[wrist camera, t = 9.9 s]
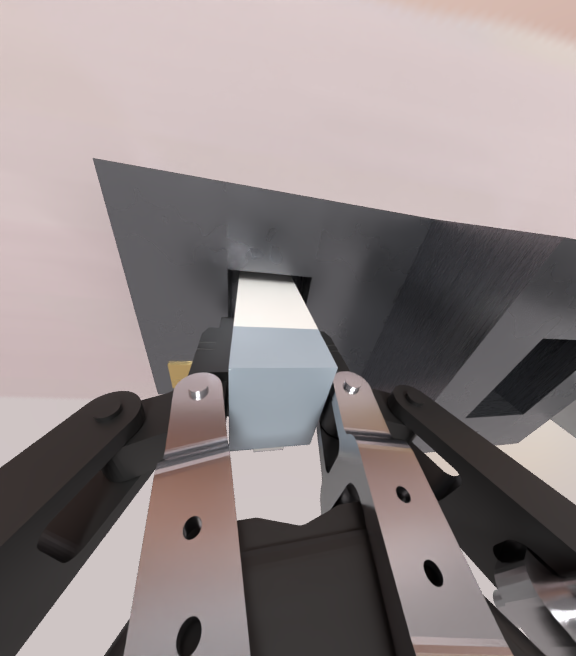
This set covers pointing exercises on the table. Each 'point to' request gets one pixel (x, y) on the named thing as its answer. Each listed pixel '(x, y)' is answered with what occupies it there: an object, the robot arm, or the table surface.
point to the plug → (275, 366)
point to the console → (357, 291)
